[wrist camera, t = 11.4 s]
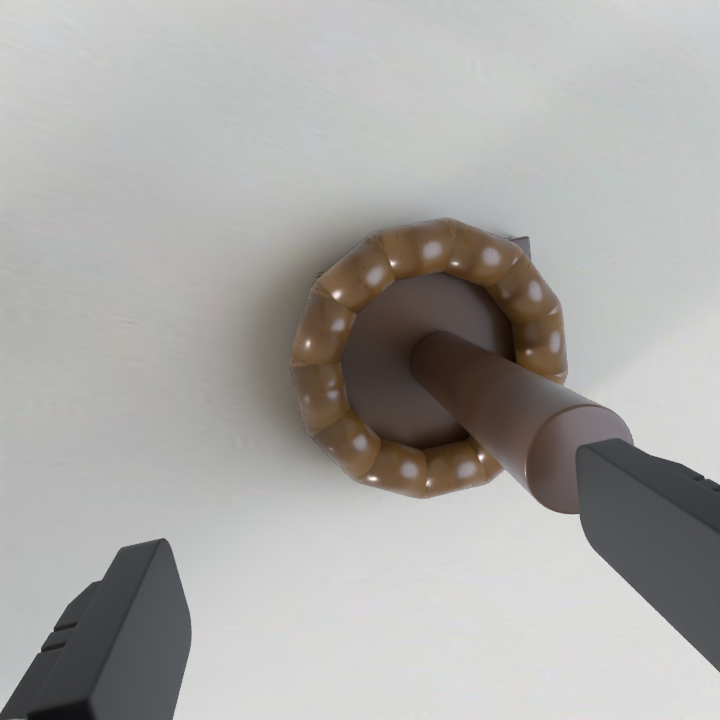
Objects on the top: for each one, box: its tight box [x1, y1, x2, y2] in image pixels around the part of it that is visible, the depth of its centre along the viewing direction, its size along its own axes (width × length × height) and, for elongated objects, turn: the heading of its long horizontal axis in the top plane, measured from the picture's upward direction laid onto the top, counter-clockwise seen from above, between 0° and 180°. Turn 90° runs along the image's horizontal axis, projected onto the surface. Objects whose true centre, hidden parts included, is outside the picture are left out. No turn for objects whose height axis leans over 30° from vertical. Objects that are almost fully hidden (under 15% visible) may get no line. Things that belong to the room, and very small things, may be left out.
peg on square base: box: [315, 236, 634, 514], centre depth 17 cm, size 9×9×12 cm
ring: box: [289, 218, 568, 499], centre depth 21 cm, size 11×11×2 cm
